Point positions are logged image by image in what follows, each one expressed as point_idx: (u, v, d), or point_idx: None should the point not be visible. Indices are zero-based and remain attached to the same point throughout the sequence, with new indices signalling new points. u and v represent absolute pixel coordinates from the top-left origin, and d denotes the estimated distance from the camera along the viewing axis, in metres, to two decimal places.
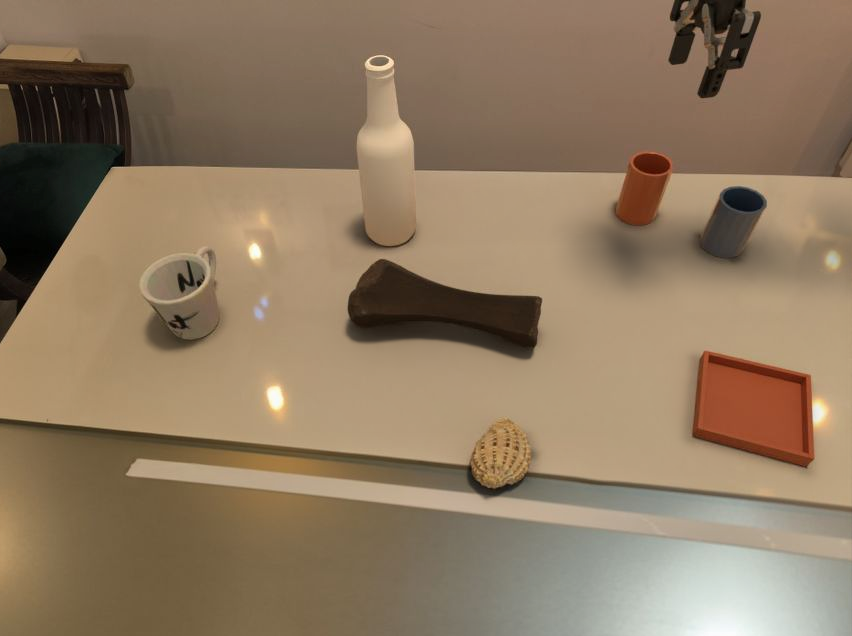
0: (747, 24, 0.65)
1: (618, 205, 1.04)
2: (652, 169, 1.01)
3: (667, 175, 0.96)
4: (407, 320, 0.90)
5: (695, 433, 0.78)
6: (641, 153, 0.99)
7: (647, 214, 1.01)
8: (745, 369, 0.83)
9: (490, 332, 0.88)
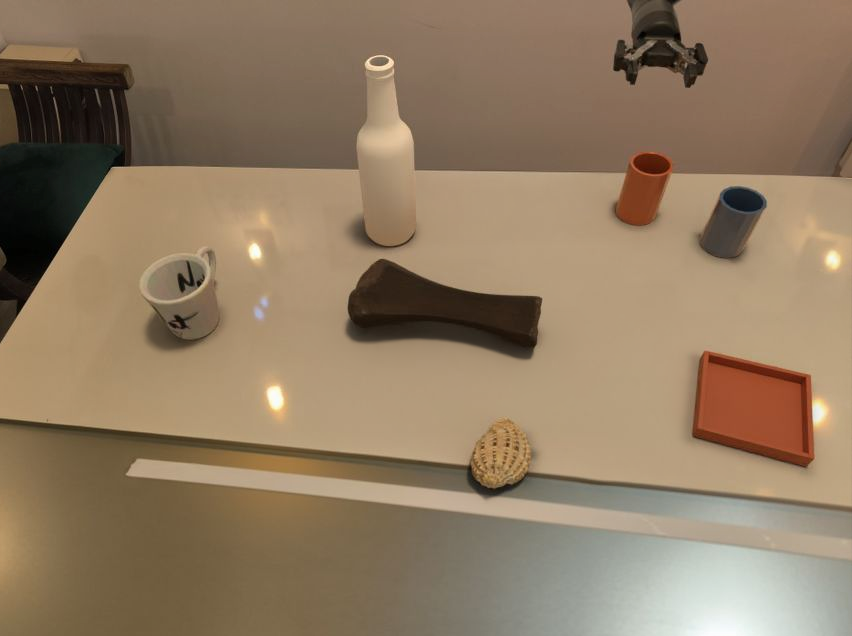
0: None
1: (618, 205, 1.04)
2: (652, 169, 1.01)
3: (667, 175, 0.96)
4: (407, 320, 0.90)
5: (695, 433, 0.78)
6: (641, 153, 0.99)
7: (647, 214, 1.01)
8: (745, 369, 0.83)
9: (490, 332, 0.88)
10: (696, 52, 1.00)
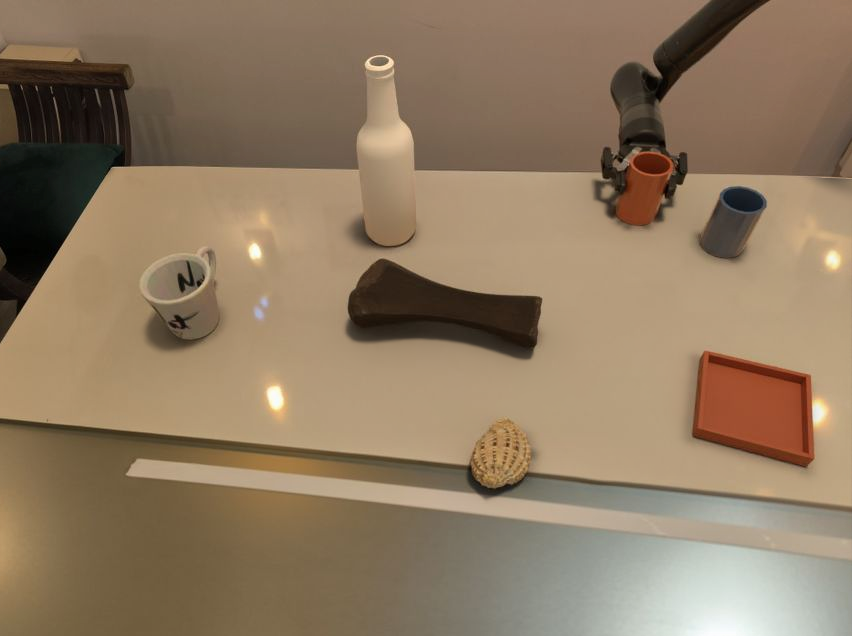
0: (602, 156, 1.06)
1: (618, 205, 1.04)
2: (652, 169, 1.01)
3: (667, 175, 0.96)
4: (407, 320, 0.90)
5: (695, 433, 0.78)
6: (641, 153, 0.99)
7: (647, 214, 1.01)
8: (745, 369, 0.83)
9: (490, 332, 0.88)
10: (679, 161, 1.02)
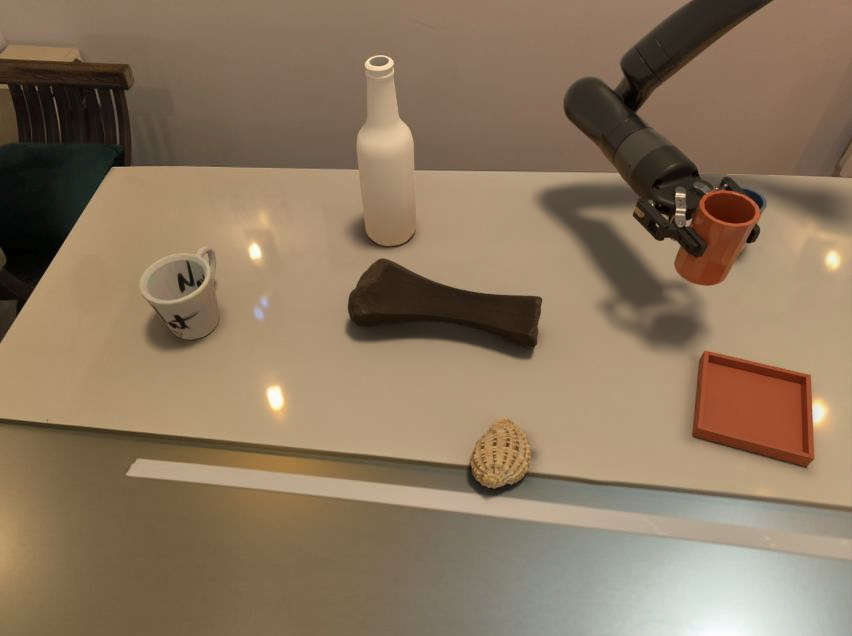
0: (637, 211, 0.79)
1: (686, 267, 0.78)
2: (715, 211, 0.76)
3: (758, 217, 0.72)
4: (407, 320, 0.90)
5: (695, 433, 0.78)
6: (705, 197, 0.74)
7: (730, 268, 0.77)
8: (745, 369, 0.83)
9: (490, 332, 0.88)
10: (729, 190, 0.79)
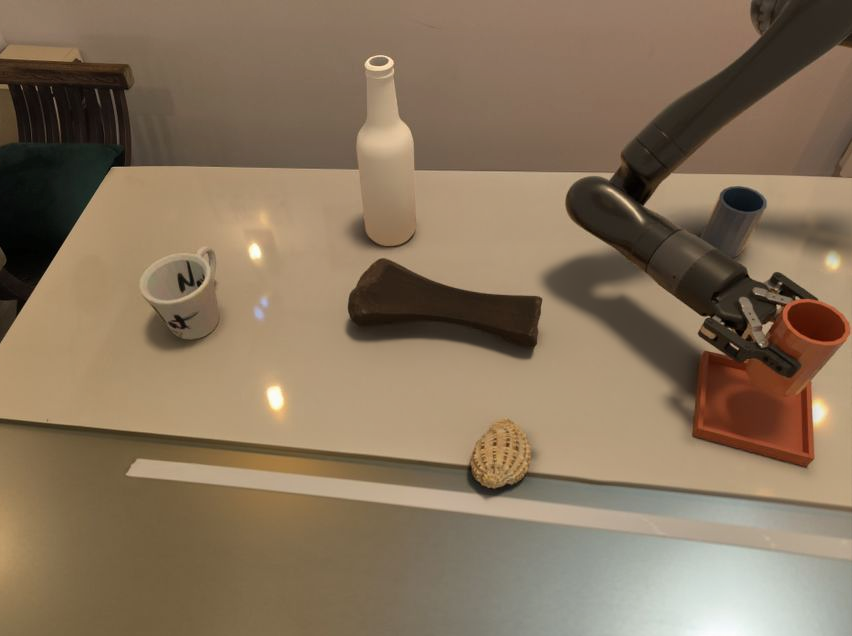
0: (706, 332, 0.71)
1: (769, 382, 0.71)
2: (787, 319, 0.70)
3: None
4: (407, 319, 0.90)
5: (695, 433, 0.78)
6: (785, 312, 0.67)
7: None
8: (745, 369, 0.83)
9: (490, 332, 0.88)
10: (786, 288, 0.73)
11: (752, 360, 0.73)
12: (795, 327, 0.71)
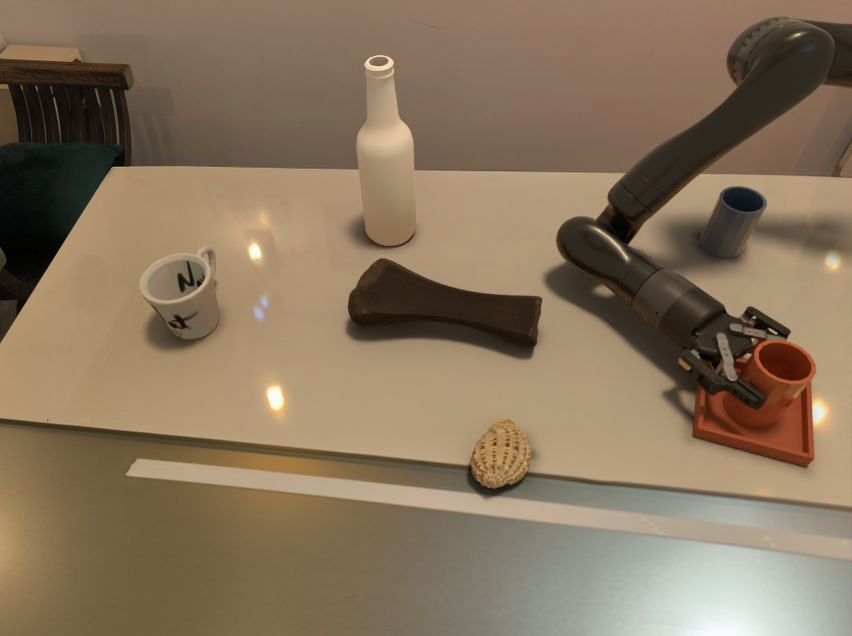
0: (682, 364, 0.77)
1: (744, 415, 0.77)
2: (760, 357, 0.76)
3: None
4: (407, 319, 0.90)
5: (695, 433, 0.78)
6: (757, 353, 0.73)
7: None
8: None
9: (490, 332, 0.88)
10: (760, 321, 0.79)
11: (729, 394, 0.79)
12: (768, 364, 0.77)
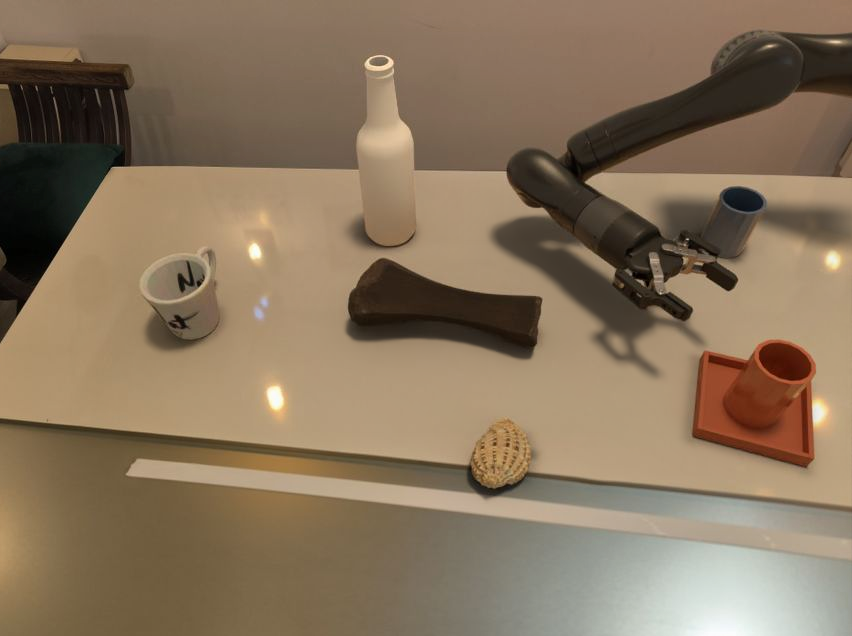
0: (616, 282, 0.80)
1: (744, 415, 0.77)
2: (760, 357, 0.76)
3: None
4: (407, 319, 0.90)
5: (695, 433, 0.78)
6: (757, 353, 0.73)
7: None
8: None
9: (490, 332, 0.88)
10: (692, 243, 0.82)
11: (729, 394, 0.79)
12: (768, 364, 0.77)
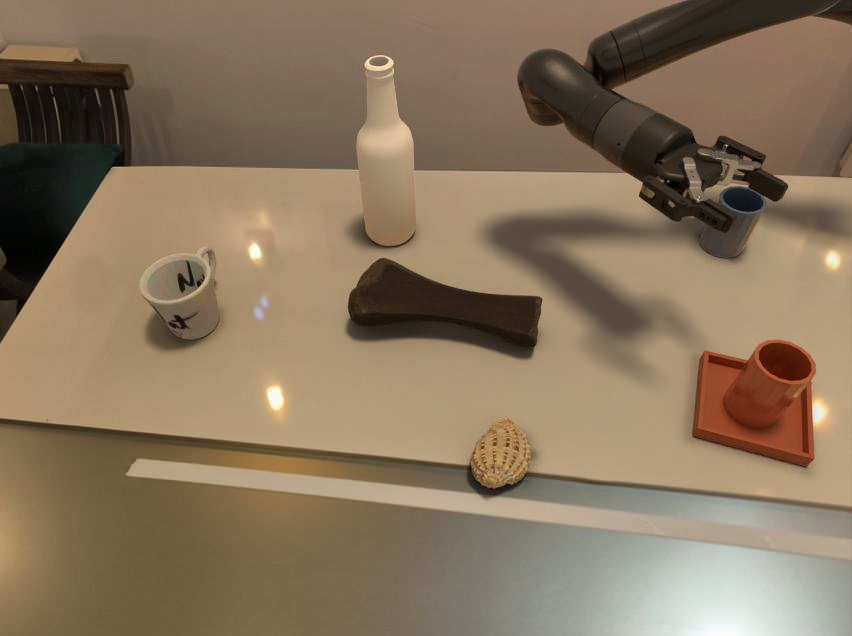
0: (645, 191, 0.69)
1: (744, 415, 0.77)
2: (760, 357, 0.76)
3: None
4: (407, 319, 0.90)
5: (695, 433, 0.78)
6: (757, 353, 0.73)
7: None
8: None
9: (490, 332, 0.88)
10: (732, 150, 0.71)
11: (729, 394, 0.79)
12: (768, 364, 0.77)
